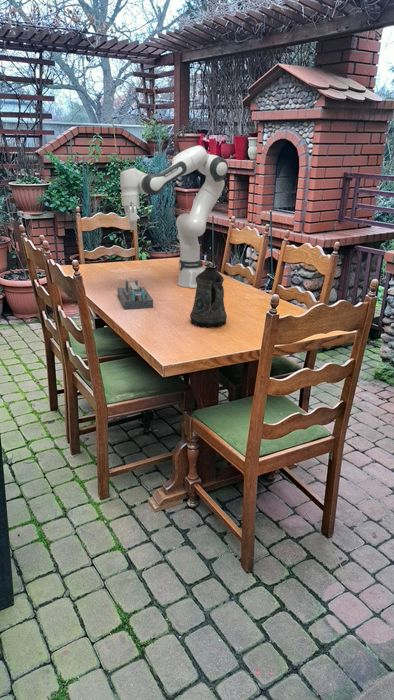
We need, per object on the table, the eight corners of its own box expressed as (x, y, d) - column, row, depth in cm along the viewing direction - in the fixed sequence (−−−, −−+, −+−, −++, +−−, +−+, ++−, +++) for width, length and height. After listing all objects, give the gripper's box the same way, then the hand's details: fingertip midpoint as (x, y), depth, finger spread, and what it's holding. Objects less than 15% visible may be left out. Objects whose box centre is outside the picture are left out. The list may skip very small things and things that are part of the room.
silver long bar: (134, 283, 270) (134, 280, 270) (141, 295, 250) (141, 291, 249) (128, 284, 269) (128, 280, 269) (135, 295, 249) (135, 292, 249)
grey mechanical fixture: (143, 293, 276) (143, 278, 273) (153, 308, 252) (153, 291, 249) (117, 295, 273) (117, 279, 269) (124, 309, 249) (124, 292, 246)
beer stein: (205, 314, 245) (206, 262, 236) (239, 323, 233) (241, 268, 224) (182, 322, 233) (183, 267, 224) (216, 332, 221) (218, 275, 212)
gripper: (139, 202, 250) (141, 231, 255) (134, 200, 269) (136, 227, 274) (126, 203, 249) (128, 232, 254) (122, 200, 268) (124, 228, 273)
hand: (132, 229), depth 264 cm, fingers closed
